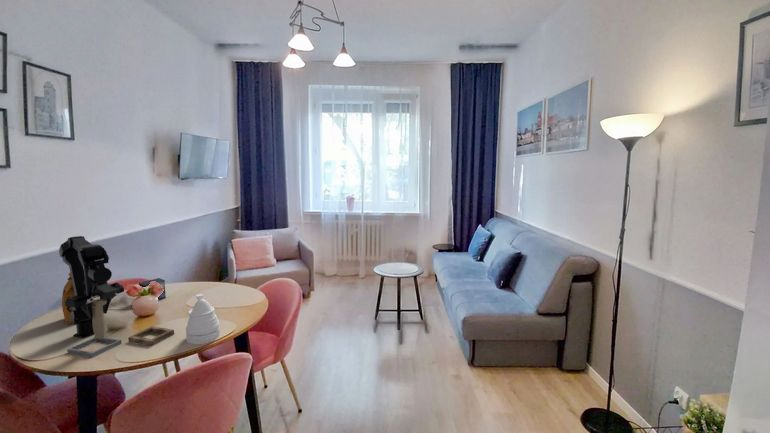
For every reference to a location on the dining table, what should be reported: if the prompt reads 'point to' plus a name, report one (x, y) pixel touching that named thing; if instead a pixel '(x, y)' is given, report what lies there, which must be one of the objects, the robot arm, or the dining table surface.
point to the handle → (98, 318)
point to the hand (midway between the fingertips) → (98, 315)
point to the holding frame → (91, 354)
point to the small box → (160, 281)
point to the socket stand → (145, 341)
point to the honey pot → (202, 323)
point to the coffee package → (67, 293)
